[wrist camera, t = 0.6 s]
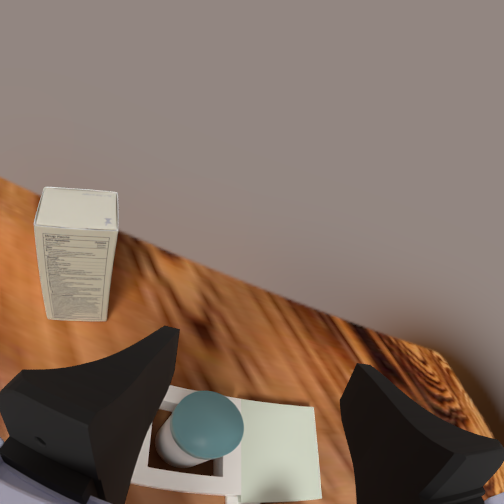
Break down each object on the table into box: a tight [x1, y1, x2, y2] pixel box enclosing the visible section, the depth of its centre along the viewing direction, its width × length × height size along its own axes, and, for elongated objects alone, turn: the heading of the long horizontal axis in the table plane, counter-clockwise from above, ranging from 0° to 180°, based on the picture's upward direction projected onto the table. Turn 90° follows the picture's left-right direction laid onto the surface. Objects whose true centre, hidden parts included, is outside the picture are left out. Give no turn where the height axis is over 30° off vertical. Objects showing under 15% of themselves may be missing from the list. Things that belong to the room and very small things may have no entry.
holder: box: [130, 385, 260, 504], centre depth 20 cm, size 16×14×3 cm
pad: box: [237, 399, 322, 503], centre depth 25 cm, size 10×8×1 cm
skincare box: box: [34, 187, 119, 321], centre depth 23 cm, size 6×4×12 cm
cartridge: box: [155, 391, 244, 468], centre depth 20 cm, size 5×5×8 cm
